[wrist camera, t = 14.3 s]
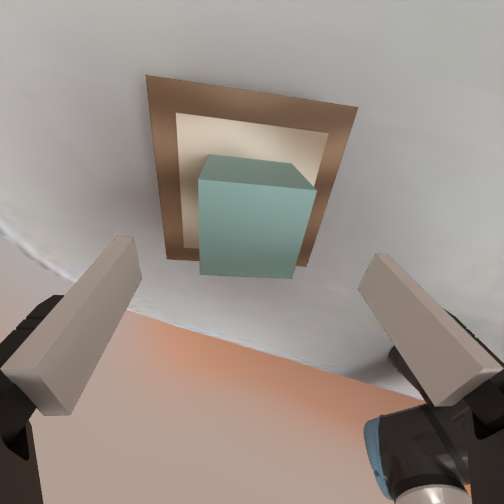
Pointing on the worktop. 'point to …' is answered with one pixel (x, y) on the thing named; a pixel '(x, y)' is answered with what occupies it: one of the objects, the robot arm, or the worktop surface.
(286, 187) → the teal cube
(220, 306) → the worktop surface
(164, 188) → the walnut block
